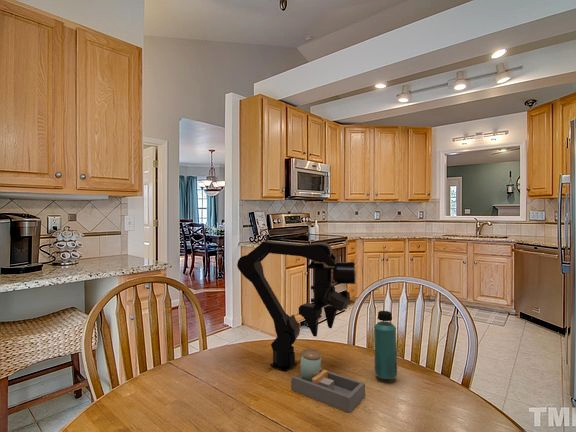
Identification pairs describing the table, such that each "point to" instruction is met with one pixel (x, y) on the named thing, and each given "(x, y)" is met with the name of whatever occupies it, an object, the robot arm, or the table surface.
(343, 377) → the gray rectangular tray
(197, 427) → the table surface
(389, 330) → the beverage bottle
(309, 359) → the jar
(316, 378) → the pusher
